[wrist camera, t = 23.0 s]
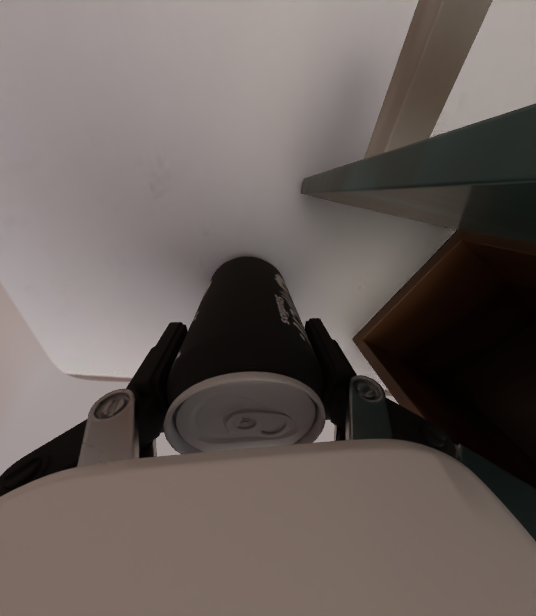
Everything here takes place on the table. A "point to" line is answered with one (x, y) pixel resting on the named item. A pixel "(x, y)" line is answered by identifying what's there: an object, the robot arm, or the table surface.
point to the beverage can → (244, 367)
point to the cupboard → (466, 347)
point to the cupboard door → (441, 141)
